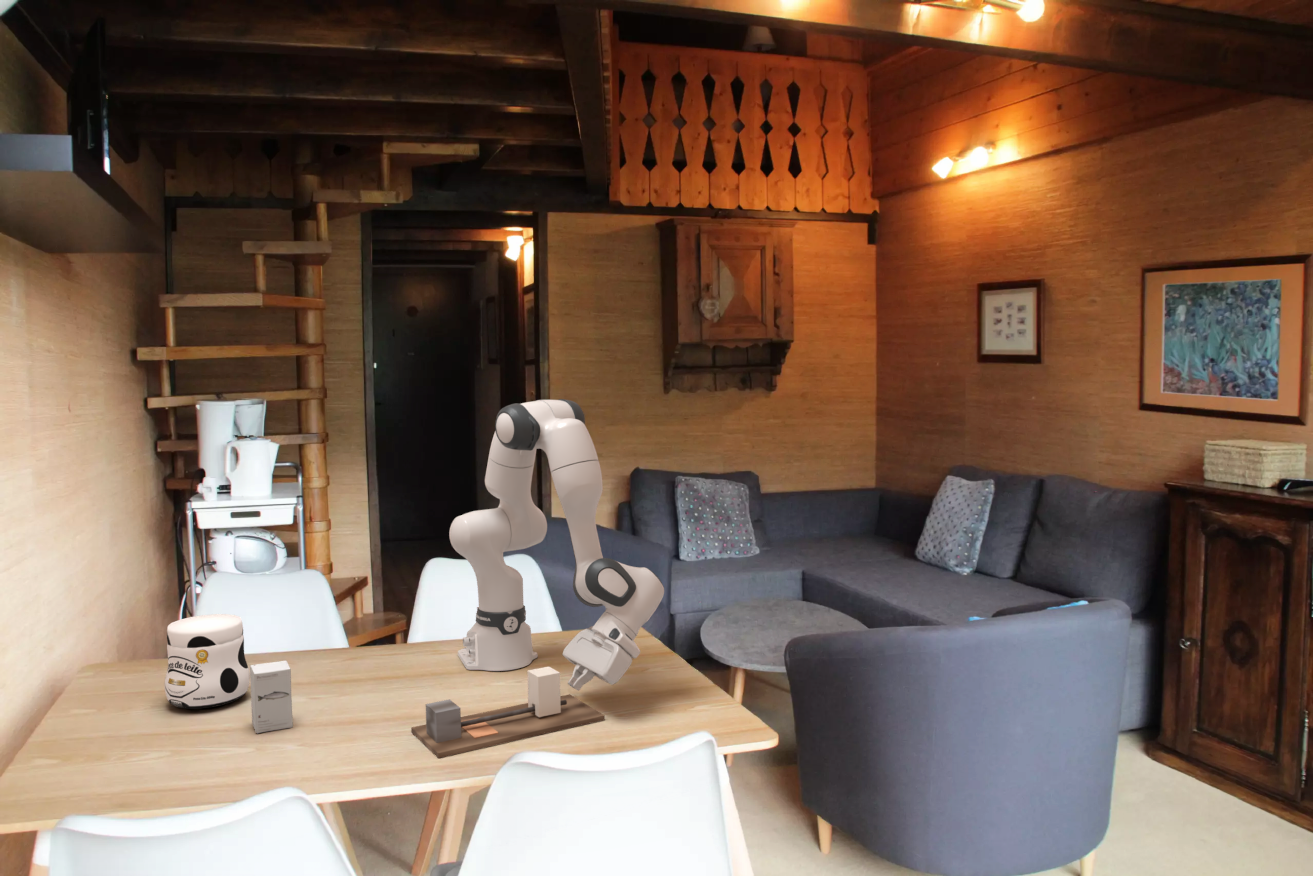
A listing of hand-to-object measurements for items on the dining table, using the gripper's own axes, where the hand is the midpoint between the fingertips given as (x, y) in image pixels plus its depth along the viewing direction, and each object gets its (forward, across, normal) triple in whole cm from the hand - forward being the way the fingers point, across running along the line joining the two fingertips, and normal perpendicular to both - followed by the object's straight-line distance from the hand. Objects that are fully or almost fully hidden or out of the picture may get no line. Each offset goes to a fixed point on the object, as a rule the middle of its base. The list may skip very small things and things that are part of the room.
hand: (572, 687), depth 210 cm
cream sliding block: (+8, 0, -2) cm, 8 cm away
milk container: (+50, -52, -42) cm, 83 cm away
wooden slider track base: (+14, 0, -7) cm, 16 cm away
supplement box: (+43, -28, -35) cm, 63 cm away
